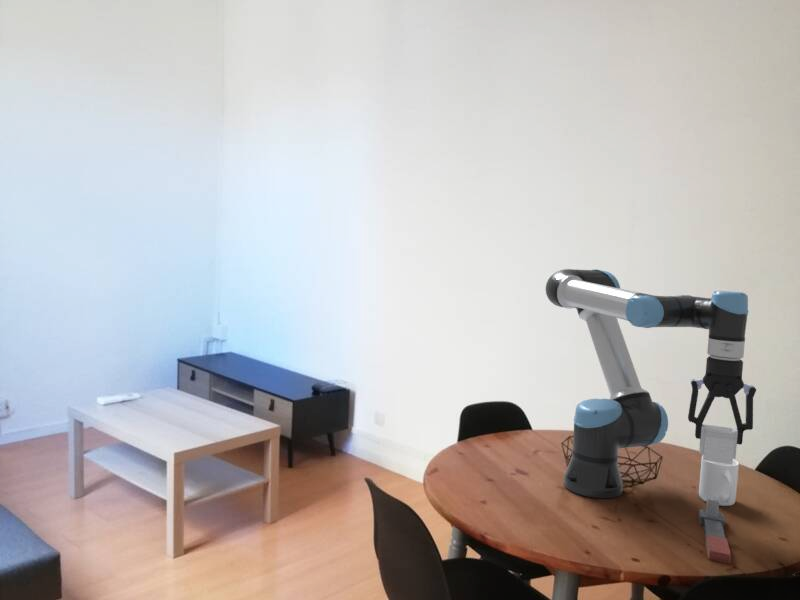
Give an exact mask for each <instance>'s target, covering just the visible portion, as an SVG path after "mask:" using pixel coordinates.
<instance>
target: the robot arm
mask: <svg viewBox="0 0 800 600" xmlns="http://www.w3.org/2000/svg"><path fill="white" fill-rule="evenodd" d="M545 295H546V297H547V299H548V300H549V302H550V303H552V304H553V305H555V306H556V307H559V308H565V309H569V310H570V309H576V311H577V314H578V316H579V319H581V320H583V321H585V322H586V325H587V328H588V331H589V334H590V338H591V341H592V343H593V346H594V349H595V352H596V355H597V358H598V362H599V365H600V367H601V371H602V374H603V377H604V379H605V382H606V386H607V389H608V392H609V395H610V397H609V398H589V399H586V400H582V401H581V402H579V403H577V405H576V406H575V411H574V412H575V413H574V416H573V436H572V437H573V438H572V450H571V452H572V453H571V458H570V461H569V462H568V465H567V468H566V470H565V472H564V474H563V487H565V488H566V489H567V490H569V491H570V492H572V493H575V494H577V495H580V496H583V497H588V498H593V499H614V498H618V497H620V496H621V495H622V494H623V479H622V476H621V472H620V468H619V464H618V459H619V458H618V457H619V449H628V448H635V447H644V448H645V447H649V446H652V445H657V444H659V443H660V442H662V440H664V438H665V437H666V433H667V432H668V429H669V417H668V414H667V412H666V409H665V408H664V406H663V405H661V404H660V403H658V402H656V401H653V399H652V398H651V397H652V396H651V395H650V392H649V391H647V390H646V389H643V388H642V386H641V383H640V381H639V377H638V374H637V371H636V368H635V365H634V363H633V361H632V358H631V355H630V352H629V351H630V350H629V349H628V347H627V344H626V340H625V338H624V335H623V331H622V329H621V326H620V324H619V321H618V319H621V320H624V321H628V323H630V324H631V326H634V327H636V328H644V329H650V328H697V329H704V330H708V339H707V341H708V342H707V351H706V353H707V355H708V356H707V358H706V365H705V374H704V376H703V378H701V379H695V378H694V379H691V380H690V384H691V395H690V396H691V397H690V402H689V409H688V414H687V419H688V422H690V423H693V424H694V425H695V430H694V432H695V433H694V436H695V438H696V440H697V439H698V440H699V445H698V453H699V454H700V455H702V454H703V448H704V437H705V425H706V424H704V421H705V419H706V417H707V415H708V412H709V411H710V408H711V406H712V403H713V402H714V400H715V398H725V399H729V403H730V405H731V406H730V407H731V411H732V414H733V417H734V418H733V419H734V421H735V426H736V427H732V429H733V431H734V433H735V440H734V451H733V459H734V460H736V458H737V448H738V447H737V446H738V445H740V446H741V445H742V444H743V440H744V439H743V437H744V432H745V431H748V430H750V431H752V430H753V427H754V396H755V394H756V392H757V387H755V386H754V385H749V384H747V383H744V381H743V370H744V369H743V367H744V361H743V360H742V359H743V358H744V357H745V356H744V354H745V342H746V337H745V336H746V330H747V329H746V328H747V324H748V323H747V321H748V316H749V297H748V296H749V295H747V294H746V293H745V292H742V291H729V290H715V291H713V292H712V294H711V297H700V296H693V295H689V294H686V295H684V294H680V295H675V296H674V295H673V296H672V295H667V296H666V295H665V296H664V295H653V294H649V293H648V294H647V293H642V292H638V291H633V290H630V289H629V290H628V289H624V288H621V285H620V282H619V280H618V279H617V277H616V276H615V275H614V274H613V273H611V272H610V271H607V270H601V269H573V268H572V269H571V268H567V269H566V268H564V269H560V270H557V271H556V272H554V273H553V274H552V275H550V277H549V278H548V279H547V281H546V285H545ZM703 385H704V386H705V387H706V389H707V390H708V393H707V396H706V398H705V400H704V402H703V404H702V406H701V408H700V410H699V413H698V415H697V416H695V415H696V410H697V404H698V397H699V390H701V389H702V386H703ZM741 390H743V393H744V394H745V423H743V422H742V417H741V414H740V409H739V406H738V403H737V398H736V395H737V394H738V393H739V391H741Z"/></svg>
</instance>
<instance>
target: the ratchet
mask: <svg viewBox="0 0 800 600" xmlns="http://www.w3.org/2000/svg"><path fill="white" fill-rule="evenodd" d="M705 505H706V507H705V509H704V508H703V509H702V508H699V511H698V519H699V525H700V526H703V530H704V535H705V547H706V553H707V558H708V560H710V561H713V562H719V563H724V564H728V565H730V564H731V560H732V559H731V558H732V554H731V549H730V546H729V541H728V538H727V537H726V533H725V522H726V521H725V518H724V517H725V516H724V513H723V512H720V511H719V510H720V505H719V498H718V497H712V496H707V502H706V504H705Z"/></svg>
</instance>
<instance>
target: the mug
mask: <svg viewBox="0 0 800 600" xmlns="http://www.w3.org/2000/svg"><path fill="white" fill-rule="evenodd" d="M739 469H740V462H738V460H736V459H733V463H732V464H726V463H720V462H713V461H707V460H703V456H702V455H701V462H700V474H699V483H698V484H699V485H698V497H699V498H700V499H701V500H702V501H704V502H706V503H707V496H712V497H718V498H719V507H720V506H722V507H729V506H734V504H735V503H736V498H737V488H738V480H739Z"/></svg>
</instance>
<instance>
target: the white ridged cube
mask: <svg viewBox="0 0 800 600" xmlns="http://www.w3.org/2000/svg"><path fill="white" fill-rule="evenodd" d="M734 440H735V433H734V431H733V427H726V426H725V427H724V426H719V425H711V424H705V437H704V448H703V454H701V457H702V456H703V460H707V461H713V462H720V463H726V464H732V463H733V451H734Z"/></svg>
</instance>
